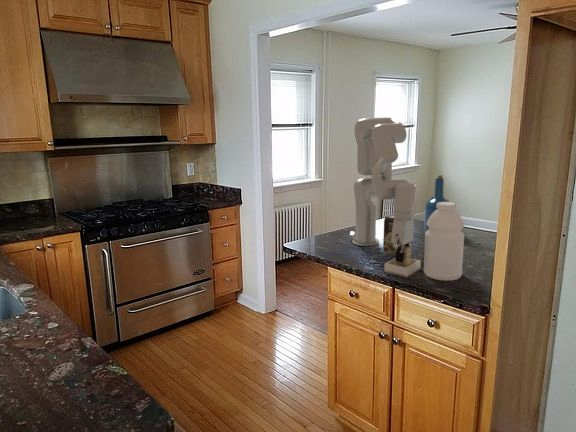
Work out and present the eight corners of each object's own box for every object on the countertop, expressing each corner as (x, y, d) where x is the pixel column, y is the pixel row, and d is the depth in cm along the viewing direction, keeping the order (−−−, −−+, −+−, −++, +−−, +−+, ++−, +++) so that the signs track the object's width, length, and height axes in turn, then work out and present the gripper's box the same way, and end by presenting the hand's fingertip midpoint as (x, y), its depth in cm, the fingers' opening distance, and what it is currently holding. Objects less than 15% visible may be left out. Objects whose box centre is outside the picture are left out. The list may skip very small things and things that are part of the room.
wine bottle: (454, 235, 217) (457, 176, 210) (428, 236, 217) (430, 177, 210) (445, 228, 230) (448, 172, 223) (420, 229, 230) (422, 173, 223)
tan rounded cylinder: (395, 268, 172) (396, 246, 170) (400, 266, 174) (400, 244, 172) (406, 270, 169) (406, 248, 167) (410, 268, 171) (411, 246, 169)
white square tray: (384, 272, 170) (384, 263, 170) (398, 264, 179) (398, 256, 178) (406, 277, 164) (407, 268, 163) (420, 268, 173) (420, 260, 172)
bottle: (457, 283, 156) (462, 208, 150) (419, 277, 164) (422, 205, 157) (465, 271, 168) (469, 201, 162) (428, 266, 175) (431, 198, 169)
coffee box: (382, 255, 191) (383, 219, 187) (384, 250, 197) (384, 216, 193) (403, 256, 188) (404, 220, 184) (404, 252, 194) (405, 217, 190)
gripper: (405, 209, 175) (404, 252, 179) (384, 217, 163) (383, 263, 167) (422, 212, 170) (421, 255, 174) (402, 220, 158) (401, 267, 162)
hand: (402, 259), depth 170 cm, fingers open, 5 cm apart
